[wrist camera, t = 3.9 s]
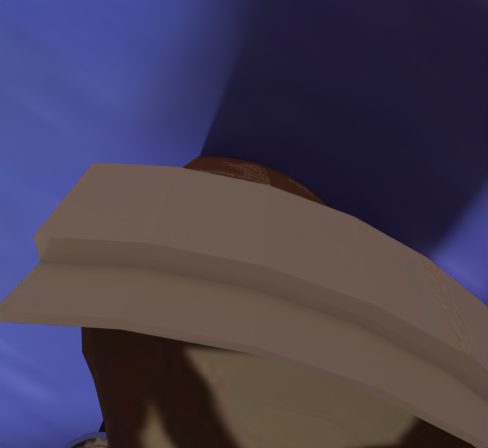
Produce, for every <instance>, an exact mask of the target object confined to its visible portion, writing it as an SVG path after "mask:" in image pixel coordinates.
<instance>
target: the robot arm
mask: <svg viewBox="0 0 488 448" xmlns="http://www.w3.org/2000/svg"><path fill="white" fill-rule="evenodd" d="M64 448H108V443H107V437H106V431H105V425H104V420H103V423H102V425H101V427H100V430H99V432H94V433H89V434H86V435H83V436H81V437H79V438H77V439H75V440H73V441H72V442H70V443H69V444H67V445H66V446H65V447H64Z"/></svg>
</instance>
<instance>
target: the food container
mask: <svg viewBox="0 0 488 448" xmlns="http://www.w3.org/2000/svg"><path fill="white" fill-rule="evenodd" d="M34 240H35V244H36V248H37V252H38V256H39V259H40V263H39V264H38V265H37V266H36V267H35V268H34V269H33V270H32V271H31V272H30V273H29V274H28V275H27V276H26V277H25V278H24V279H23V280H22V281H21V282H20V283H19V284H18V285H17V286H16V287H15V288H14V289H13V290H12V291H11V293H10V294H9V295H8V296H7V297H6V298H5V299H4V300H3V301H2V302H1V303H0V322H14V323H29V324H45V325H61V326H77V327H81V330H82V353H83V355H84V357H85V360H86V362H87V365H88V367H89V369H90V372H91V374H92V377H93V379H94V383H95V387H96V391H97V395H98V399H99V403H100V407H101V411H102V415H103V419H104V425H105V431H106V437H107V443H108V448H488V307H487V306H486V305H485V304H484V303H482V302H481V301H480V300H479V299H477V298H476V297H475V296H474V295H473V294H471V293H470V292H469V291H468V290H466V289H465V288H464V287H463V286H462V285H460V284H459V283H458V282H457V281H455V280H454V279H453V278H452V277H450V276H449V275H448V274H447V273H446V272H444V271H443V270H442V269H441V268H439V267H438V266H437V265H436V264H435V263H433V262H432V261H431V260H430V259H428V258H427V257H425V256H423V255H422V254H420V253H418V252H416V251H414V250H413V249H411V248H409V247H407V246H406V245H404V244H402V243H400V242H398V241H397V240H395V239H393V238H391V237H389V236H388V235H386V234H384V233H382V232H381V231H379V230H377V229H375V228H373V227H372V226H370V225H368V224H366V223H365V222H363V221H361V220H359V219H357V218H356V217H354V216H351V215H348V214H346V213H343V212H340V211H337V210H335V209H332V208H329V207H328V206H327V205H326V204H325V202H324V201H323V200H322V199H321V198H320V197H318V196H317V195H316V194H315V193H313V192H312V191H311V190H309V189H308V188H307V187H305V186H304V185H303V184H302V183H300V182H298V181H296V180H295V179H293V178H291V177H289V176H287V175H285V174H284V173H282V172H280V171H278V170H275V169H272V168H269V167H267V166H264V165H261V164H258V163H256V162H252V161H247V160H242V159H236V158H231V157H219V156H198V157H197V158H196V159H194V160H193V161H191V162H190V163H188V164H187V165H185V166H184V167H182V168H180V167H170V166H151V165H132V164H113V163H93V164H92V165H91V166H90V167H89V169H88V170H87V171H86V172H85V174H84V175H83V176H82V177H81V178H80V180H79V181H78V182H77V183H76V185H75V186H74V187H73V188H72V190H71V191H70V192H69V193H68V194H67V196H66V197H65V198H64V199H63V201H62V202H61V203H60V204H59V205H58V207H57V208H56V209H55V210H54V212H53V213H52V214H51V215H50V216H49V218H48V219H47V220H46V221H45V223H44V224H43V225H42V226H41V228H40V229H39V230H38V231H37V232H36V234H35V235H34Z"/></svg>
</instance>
